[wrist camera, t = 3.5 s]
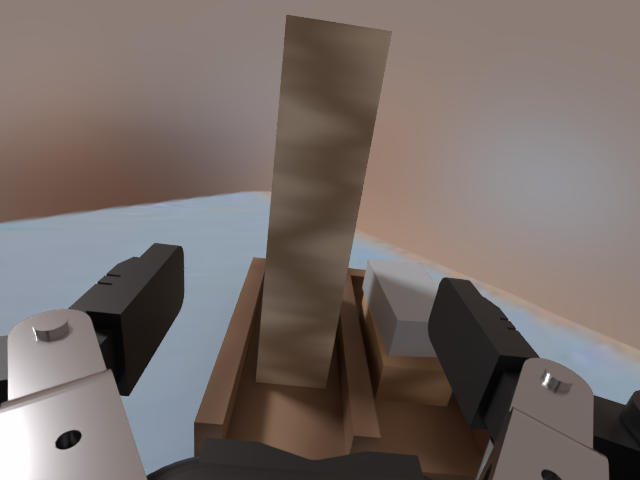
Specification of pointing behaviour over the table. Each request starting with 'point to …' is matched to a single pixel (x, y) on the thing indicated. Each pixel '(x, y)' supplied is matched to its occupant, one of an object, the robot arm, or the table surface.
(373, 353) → the oak offcut
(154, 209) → the table surface
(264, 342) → the birch board
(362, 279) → the rack
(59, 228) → the table surface
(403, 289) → the grey offcut
